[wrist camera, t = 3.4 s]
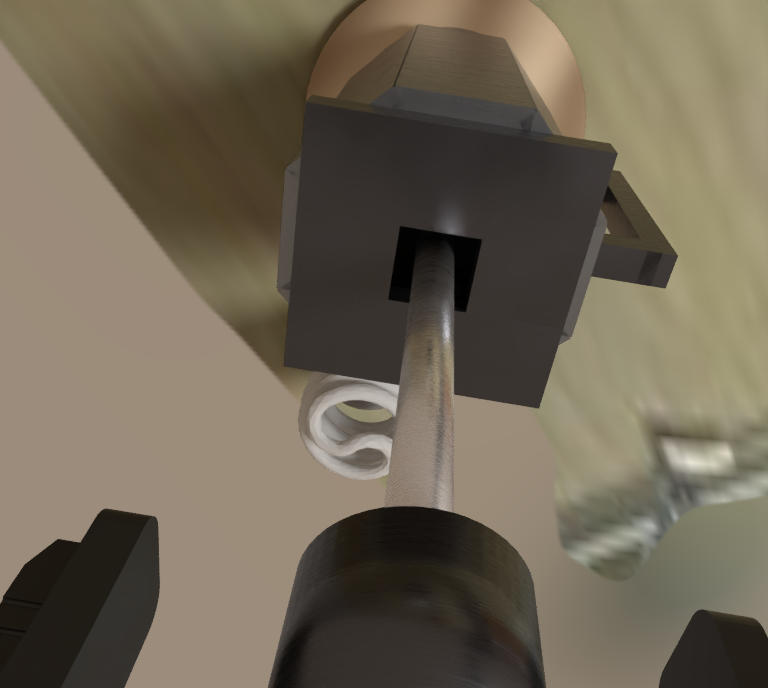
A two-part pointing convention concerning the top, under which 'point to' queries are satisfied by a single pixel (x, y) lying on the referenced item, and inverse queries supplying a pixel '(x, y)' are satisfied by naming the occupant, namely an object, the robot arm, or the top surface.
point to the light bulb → (347, 425)
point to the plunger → (415, 537)
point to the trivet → (471, 12)
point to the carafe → (452, 216)
